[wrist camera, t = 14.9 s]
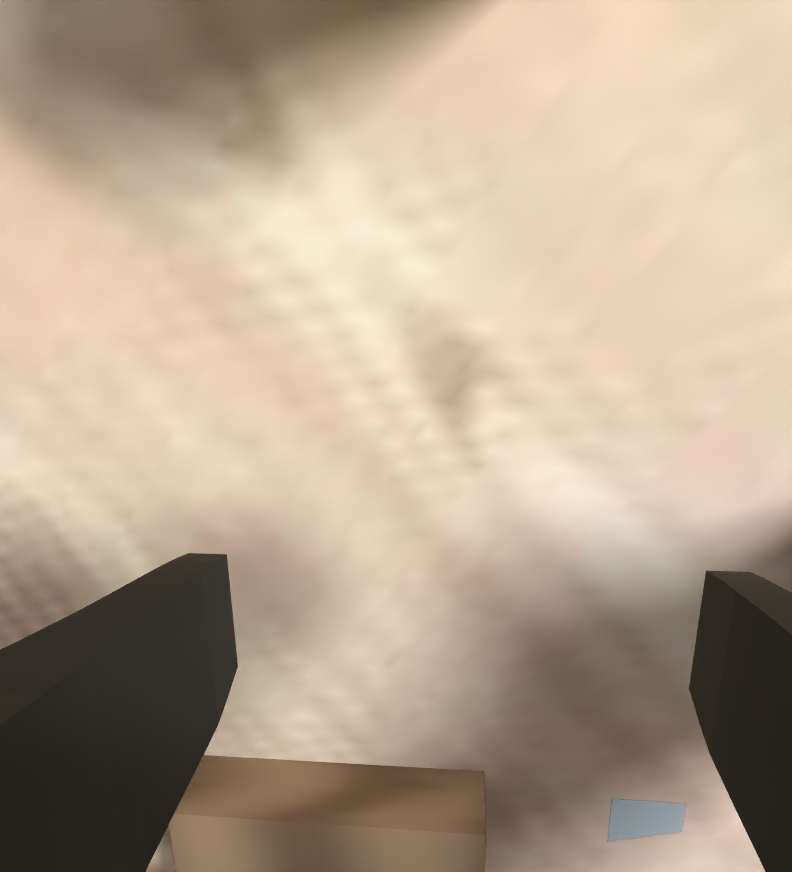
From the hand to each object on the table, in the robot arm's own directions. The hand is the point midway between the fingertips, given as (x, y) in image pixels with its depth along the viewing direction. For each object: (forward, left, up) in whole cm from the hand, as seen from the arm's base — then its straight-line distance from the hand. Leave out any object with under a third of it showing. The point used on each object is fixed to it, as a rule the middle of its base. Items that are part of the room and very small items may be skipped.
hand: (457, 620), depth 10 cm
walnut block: (+4, +17, -10) cm, 20 cm away
